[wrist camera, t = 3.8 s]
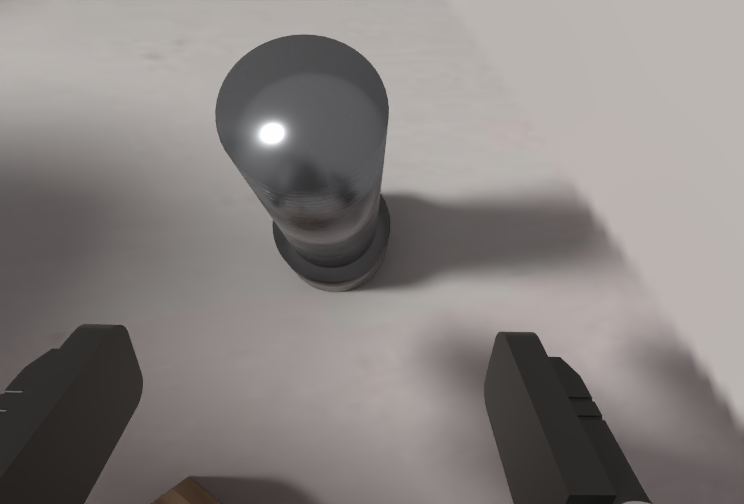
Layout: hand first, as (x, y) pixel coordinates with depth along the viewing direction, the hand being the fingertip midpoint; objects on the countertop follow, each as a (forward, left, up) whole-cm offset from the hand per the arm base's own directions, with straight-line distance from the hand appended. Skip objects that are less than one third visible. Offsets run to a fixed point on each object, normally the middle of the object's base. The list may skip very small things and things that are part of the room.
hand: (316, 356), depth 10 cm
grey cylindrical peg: (-3, +4, -9) cm, 10 cm away
